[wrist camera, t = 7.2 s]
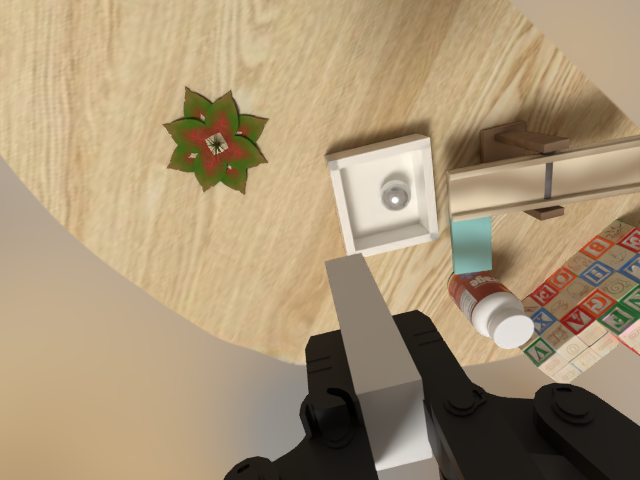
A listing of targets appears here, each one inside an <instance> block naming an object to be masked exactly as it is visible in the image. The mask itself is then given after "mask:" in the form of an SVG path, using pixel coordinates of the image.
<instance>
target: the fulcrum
mask: <svg viewBox="0 0 640 480" xmlns="http://www.w3.org/2000/svg"><path fill="white" fill-rule="evenodd" d="M480 146H481V164H484V163H489V162H495V161H500V160H506V159H511V158H516V157H522V156H525V149H529V150H533V151H537V152H542V153H547V152H551V151H555V150H559V149H563V148H567V147H569V138H563V137H557V136H551V135H545V134H539V133H533V132H527V131H526V121H519V122H515V123H511V124H507V125H503V126H499V127H495V128H491V129H486V130H482V131H480ZM523 212H525V213H527V214H529V215H531V216H533V217H535V218H537V219H539V220H545V219H550V218H554V217H558V216H562V215H564V208H563V207H561V206H559V205H557V206H551V207H545V208H538V209H532V210H526V211H523Z"/></svg>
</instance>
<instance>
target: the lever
mask: <svg viewBox="0 0 640 480" xmlns="http://www.w3.org/2000/svg"><path fill="white" fill-rule="evenodd" d="M446 175H447V190H448V204H449V218H450V232H451V246H452V260H453V271H454V273H455V275H457V274H464V273H472V272H479V271H487V270H492V247H491V216H495V215H501V214H507V213H513V212H520V211H526V210H532V209H538V208H545V207H551V206H557V205H563V204H570V203H576V202H582V201H588V200H595V199H601V198H607V197H614V196H620V195H626V194H632V193H639V192H640V135H635V136H630V137H624V138H619V139H614V140H608V141H603V142H597V143H592V144H587V145H581V146H576V147H570V148H565V149H560V150H555V151H551V152H547V153H542V152H540V153H538V154H533V155H527V156H522V157H516V158H511V159H506V160H500V161H495V162H489V163H484V164H479V165H473V166H468V167H462V168H457V169H452V170H446Z"/></svg>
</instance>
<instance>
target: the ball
mask: <svg viewBox="0 0 640 480" xmlns="http://www.w3.org/2000/svg"><path fill="white" fill-rule="evenodd" d="M410 200H411V190H410V188H409V186H408V185H407V184H406V183H404V182H403V181H400V180H392V181H389V182H387V183H386V184H385V185H384V186H383V187H382V189H381V191H380V201H381V203H382V205H383V206H384V207H385V208H386V209H388V210H390V211H400V210H402V209H404V208H405V207H406V206H407V205H408V204H409V202H410Z"/></svg>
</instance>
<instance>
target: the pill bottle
mask: <svg viewBox="0 0 640 480" xmlns="http://www.w3.org/2000/svg"><path fill="white" fill-rule="evenodd" d="M448 293H449V295H450V297H451V298H452V300H453V301H454V302H455V303H456V305H457V306H458V307H459V309H460V310H461V311H462V312H463V314H464V315H465V316H466V317H467V319H468V320H469V321H470V323H471V324H472V325H473V326H474V328H475V329H476V330H477V331H478V332H479V333H480V334H482V335H484V336H486V337H490V338H491V339H492V340H493V341H494V342H495V343H496V344H497V345H498V346H499V347H502V348H505V349H512V348H516V347H519V346H521V345H523V344H524V343H526V342H527V341H528V340H529V339H530V337H531V336H532V334H533V331H534V324H533V321H532V320H531V319H530V317H528V316H527V314H526V313H524V307H523V304H522V303H521V301H520V300H519V299H518V298H517V297H516V296H515V295H514V294H513V293H512V292H511V291H509V290H508V289H507V288H506V287H505V286H504V285H503V284H502V283H501V282H499V281H498V280H497V279H496V278H495V277H494V276H493V275H492V274H491V273H490V272H488V271H479V272H472V273H464V274H457V275H455V273H453V275H452V276H451V277H450V279H449V282H448Z"/></svg>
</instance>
